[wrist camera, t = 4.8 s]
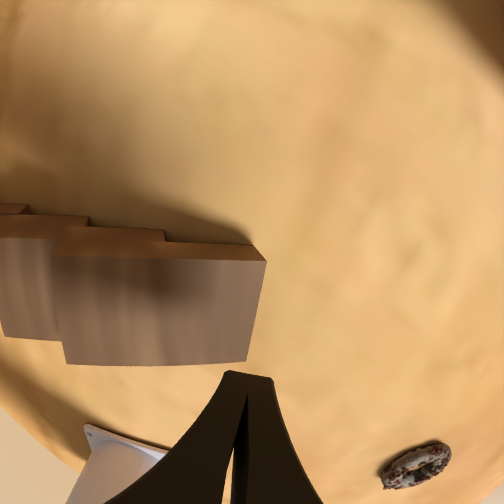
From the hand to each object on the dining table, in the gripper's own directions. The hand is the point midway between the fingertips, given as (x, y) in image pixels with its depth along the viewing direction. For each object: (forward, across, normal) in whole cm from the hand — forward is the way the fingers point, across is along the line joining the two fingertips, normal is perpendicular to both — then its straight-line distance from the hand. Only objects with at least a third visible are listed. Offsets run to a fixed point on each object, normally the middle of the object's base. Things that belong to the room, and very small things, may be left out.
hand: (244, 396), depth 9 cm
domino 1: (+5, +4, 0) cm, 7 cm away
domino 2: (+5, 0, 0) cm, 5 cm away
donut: (+7, -15, +13) cm, 21 cm away
